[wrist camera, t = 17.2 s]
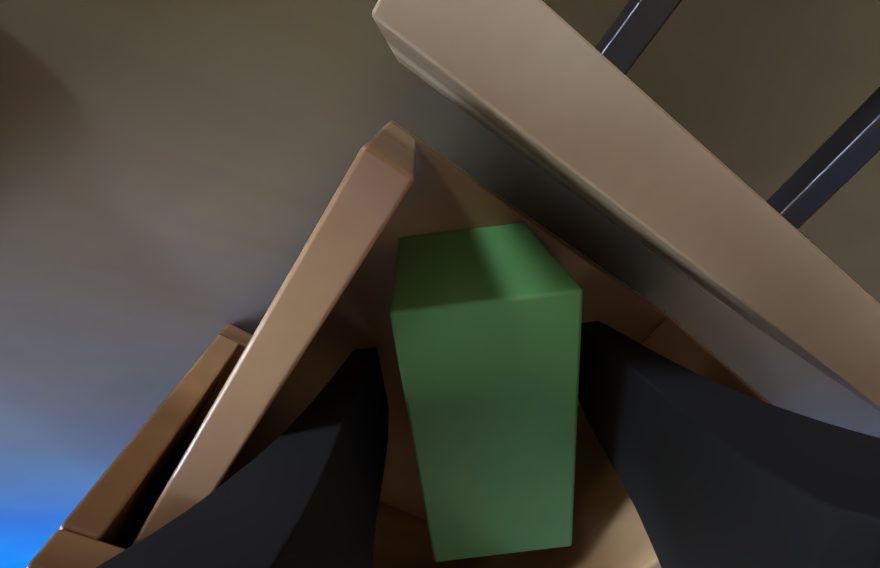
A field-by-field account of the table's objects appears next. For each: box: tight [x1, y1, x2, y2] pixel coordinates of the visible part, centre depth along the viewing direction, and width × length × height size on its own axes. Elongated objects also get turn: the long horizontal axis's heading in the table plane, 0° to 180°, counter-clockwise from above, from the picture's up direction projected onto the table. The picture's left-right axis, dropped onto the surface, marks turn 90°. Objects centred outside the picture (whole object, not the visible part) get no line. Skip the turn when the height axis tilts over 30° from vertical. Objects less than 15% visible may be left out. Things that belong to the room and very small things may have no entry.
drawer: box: [132, 0, 880, 568], centre depth 10 cm, size 20×12×6 cm, turn 146°
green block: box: [390, 223, 583, 562], centre depth 10 cm, size 7×3×4 cm, turn 6°
